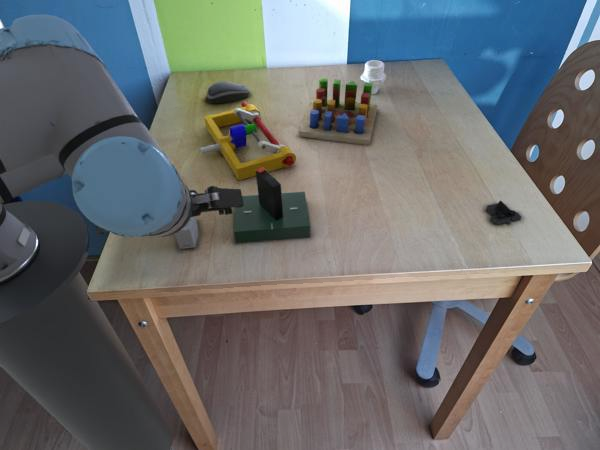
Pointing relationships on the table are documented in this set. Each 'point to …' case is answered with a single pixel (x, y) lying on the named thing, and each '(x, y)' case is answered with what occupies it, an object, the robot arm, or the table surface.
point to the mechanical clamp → (239, 139)
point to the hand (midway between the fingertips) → (177, 214)
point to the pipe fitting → (374, 74)
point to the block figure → (502, 214)
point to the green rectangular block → (271, 219)
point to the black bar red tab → (269, 193)
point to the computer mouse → (226, 92)
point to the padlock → (188, 235)
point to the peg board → (340, 115)
